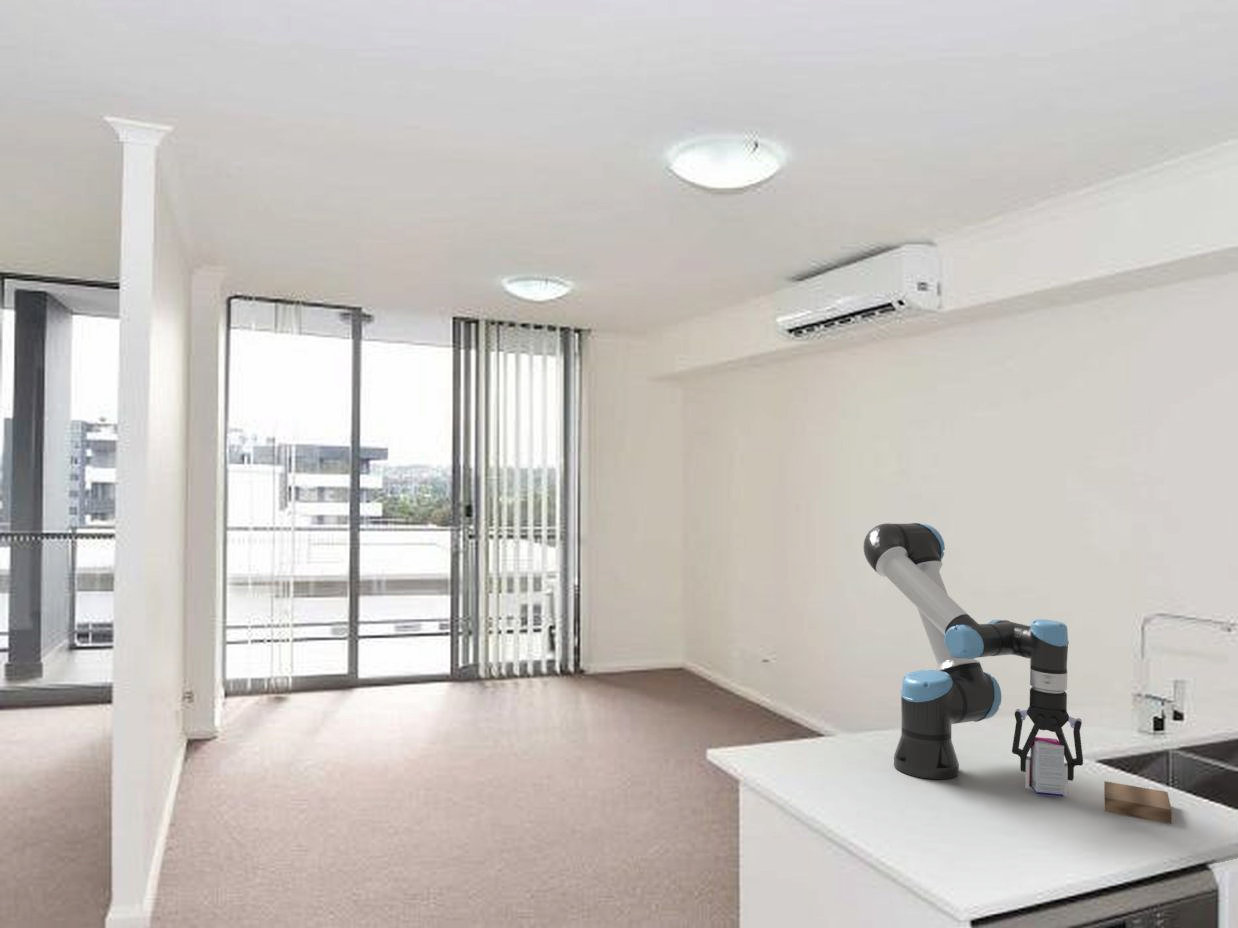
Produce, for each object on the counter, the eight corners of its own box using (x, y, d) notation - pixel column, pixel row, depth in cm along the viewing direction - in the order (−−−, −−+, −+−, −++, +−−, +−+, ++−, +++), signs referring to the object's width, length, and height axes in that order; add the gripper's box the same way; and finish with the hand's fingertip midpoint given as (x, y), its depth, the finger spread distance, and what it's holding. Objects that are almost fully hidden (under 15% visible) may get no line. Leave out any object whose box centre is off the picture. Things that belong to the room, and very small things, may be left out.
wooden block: (1104, 811, 176) (1104, 797, 177) (1104, 794, 187) (1104, 780, 187) (1171, 823, 170) (1171, 809, 170) (1167, 805, 181) (1167, 791, 181)
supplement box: (1064, 797, 183) (1064, 745, 183) (1036, 794, 184) (1036, 743, 184) (1056, 787, 188) (1056, 737, 188) (1029, 785, 190) (1028, 735, 190)
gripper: (998, 685, 188) (996, 785, 188) (1098, 699, 178) (1096, 805, 178) (1002, 679, 195) (1000, 775, 194) (1098, 692, 185) (1096, 794, 184)
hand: (1046, 789), depth 186 cm, fingers closed on supplement box, 7 cm apart
